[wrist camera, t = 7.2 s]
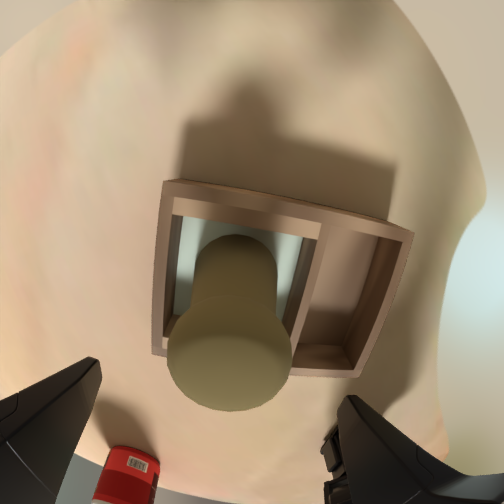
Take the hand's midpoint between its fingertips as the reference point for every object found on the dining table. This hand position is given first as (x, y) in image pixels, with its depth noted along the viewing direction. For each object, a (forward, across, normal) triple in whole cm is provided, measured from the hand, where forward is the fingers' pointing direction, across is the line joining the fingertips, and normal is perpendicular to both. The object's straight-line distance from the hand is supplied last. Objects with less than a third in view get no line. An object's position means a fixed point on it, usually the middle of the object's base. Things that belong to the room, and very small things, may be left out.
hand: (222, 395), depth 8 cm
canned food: (+13, +10, +33) cm, 36 cm away
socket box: (+13, -3, 0) cm, 13 cm away
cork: (+12, 0, 0) cm, 12 cm away
